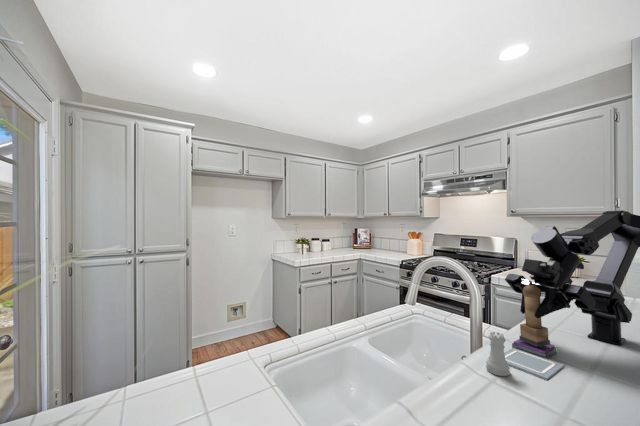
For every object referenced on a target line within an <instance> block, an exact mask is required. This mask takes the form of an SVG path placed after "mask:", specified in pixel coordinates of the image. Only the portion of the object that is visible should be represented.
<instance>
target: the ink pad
mask: <svg viewBox="0 0 640 426" xmlns="http://www.w3.org/2000/svg"><path fill="white" fill-rule="evenodd" d="M512 348H515V349H518V350H521V351H524V352H527V353H530V354H533V355H536V356H539V357H542V358H545V359H548V360H549V358H550V357H552V356H553V355H555V354H557V352H558V351H557V347H556V346H555V345H554V344H551V343H550V345H545V346H540V347H536V346H533V345H531V344H529V343H526V342H524V341H522V340H520V339H519V338H518V339H516V340H515V341H513V342H512V343H511V349H512Z"/></svg>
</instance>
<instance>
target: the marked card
mask: <svg viewBox="0 0 640 426" xmlns="http://www.w3.org/2000/svg"><path fill="white" fill-rule="evenodd" d="M504 355H505V359H506V361H507V364H508V365H509V367H512V368H514V369H517V370H520V371H523V372H525V373H527V374H530V375H533V376H535V377H538V378H540V379H542V380H546V381H548V380H549V379H550V378H552V377H553V376H555V375H556V374H557V373H558V372H559V371H561V370H562V369H564V368H565V365H564V364H563V363H562V364H561V363H559V362H556V361H553V360H551V359H549V358H548V359H545V358H542V357H539V356H536V355H533V354H530V353H527V352H524V351H521V350H518V349H515V348H512V347H511V348H510V349H509V350H507V351H504Z"/></svg>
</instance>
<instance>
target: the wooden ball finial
mask: <svg viewBox="0 0 640 426" xmlns="http://www.w3.org/2000/svg"><path fill="white" fill-rule="evenodd" d="M523 294H524V299H525V313H524V316H525V323H522V324H521V323H520V324H519V328H520V329H519V330H520V335H519V338H518V339H520V340H522V341H524V342H526V343H529V344H531V345H533V346H536V347H540V346H545V345H550V344H551V339H549V328H548V327H546V326H543V325H542V317H540V318H536V317H535V313H536V311H537V309H538V307H539V306H540V304H541V297H542V292H541V290H540V289H539V288H538V287H537V286H534V285H527V286H525V287H524V288H523Z"/></svg>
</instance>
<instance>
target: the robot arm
mask: <svg viewBox="0 0 640 426" xmlns="http://www.w3.org/2000/svg"><path fill="white" fill-rule="evenodd" d="M610 234H611V235H612V237H613V240H614V241H613V243H612V246H611V248H610V250H609V252H608V254H607V257H606V258H605V260H604V262H603V265H602V267H601V269H600V271H599V273H598V276H597V277H596V279H595V280H588V279H587V280H585V281H584V282H583V285H575V284H572V283H573V280H572V277H573V274H574V273H575V271H576V269H578V270H584V268H585V266H584V263H583V262H582V259H581V258H580V257H579V256H578V255H583V256H591V255H593V254H594V252H596V251H597V249H599V247H600V244H599V242H600V241H601V240H602V239H604V238H605V237H607V236H608V235H610ZM530 240H531V241H532V243H533V245H534V246H535V247H536V248H537V249H538V251H539V252H540V253H541V254H542V255H543V257H545V258H548V260H547V261H542V260H535V259H528V258H525V259H524V262H523V265H522V268H521V271H522V272H525V273H527V274H529V278H530V279H531V280H530V279H526V276H524V275H521V274H520V275H519V274H515V273H508V274H507V275H506V276H505V278H504V281H505V282H506V283H507V284H508V285H509V286H510V288H511V289H512V290H513V291H514V292H515V293H517V294H520V295H521V303H520V310H519V311H520V313H521V314H523V315H525V299H524V294H523V288H524V287H525V286H527V285H534V286H537V287H538V288H539V289H540V290H541V294H544V298H543V299H542V301H541V302H540V306H539V307H538V309H537V311H536V313H535V317H536V318H540V317H541V318H543V317H546V316H547V315H550V314H552V313H555V312H558V311H559V310H563V309H571V308H572V307H571V304H570V303H571V302H572V301H574V302H573V303H574V305H575V306H576V307H577V308H578V309H580V310H581V313H582V314H587V315H590V317H591V319H590V320H591V332H590V333H589V334H587V338H590V339H594V340H597V341H602V342H605V343H609V344H613V345H617V346H622V345H623V344H624V343H626V341H627V338H625V337H622V323H627V324H630V322H631V321H632V319H633V313H632V312H631V310H630V309H629V308H628V306H627V305H626V304H625V301H626V299H625V296H624V295H623V292H622V290H621V288H622V285H623V284H624V282H625V279H626V276H627V274H628V272H629V270H630V268H631V265H632V263H633V261H634V258H635V256H636V253H637V251H638V249H639V248H640V215H638V214H634V213H631V212H629V211H626V210H606V211H603V212H601V215H600V216H598V217H597V218H595V219H594V220H592V221H590V222H588V223H587V224H585V225H584V226H582V227H581V228H578V229H574V230H573V229H572V230H567V231H564V232H562V233H560V232H559V230H558V228H557V227H556V226H554V225H546V226H545V228H543V229H539V230H537V231H535V233H532V234H531V236H530ZM532 281H533V282H532Z"/></svg>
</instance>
